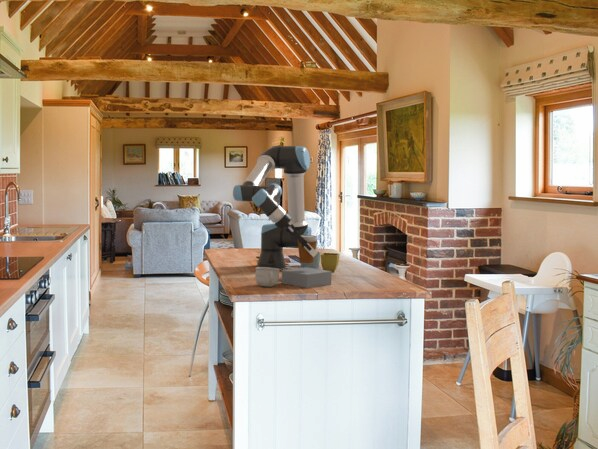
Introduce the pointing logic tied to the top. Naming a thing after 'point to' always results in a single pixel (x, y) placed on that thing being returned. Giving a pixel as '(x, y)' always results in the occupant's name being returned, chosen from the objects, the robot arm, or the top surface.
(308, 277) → the riser block
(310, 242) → the disposable coffee cup
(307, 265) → the grey-green cup
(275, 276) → the teacup
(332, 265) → the flower pot
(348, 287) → the top surface
